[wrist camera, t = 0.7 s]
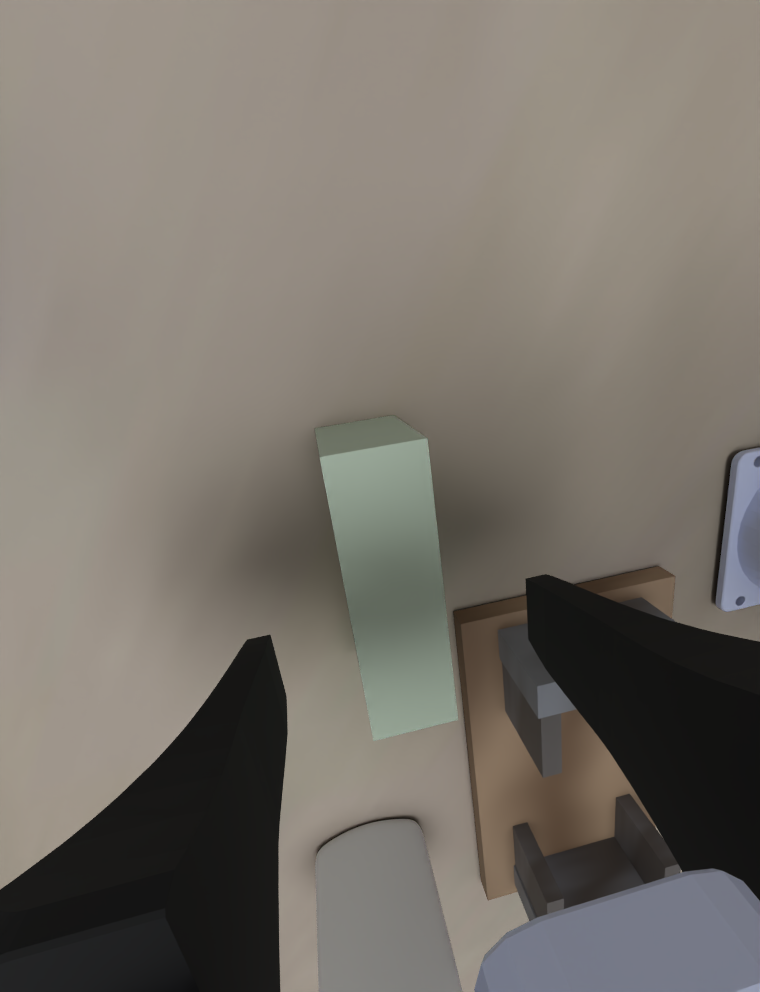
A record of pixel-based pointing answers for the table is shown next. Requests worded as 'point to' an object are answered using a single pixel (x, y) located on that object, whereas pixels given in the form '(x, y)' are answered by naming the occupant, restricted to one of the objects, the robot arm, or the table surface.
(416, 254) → the table surface
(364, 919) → the eye dropper bottle
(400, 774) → the table surface
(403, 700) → the rail plank
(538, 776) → the slotted holder
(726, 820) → the robot arm
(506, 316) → the table surface
